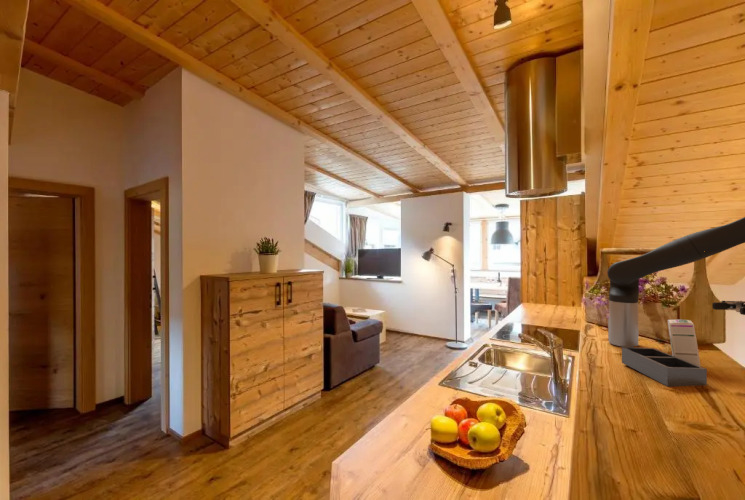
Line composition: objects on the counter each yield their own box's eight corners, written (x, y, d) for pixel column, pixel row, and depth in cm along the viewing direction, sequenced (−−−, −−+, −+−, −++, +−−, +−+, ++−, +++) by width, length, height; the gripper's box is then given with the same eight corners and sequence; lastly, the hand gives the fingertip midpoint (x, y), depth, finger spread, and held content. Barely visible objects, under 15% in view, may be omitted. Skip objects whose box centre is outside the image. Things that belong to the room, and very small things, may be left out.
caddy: (621, 362, 105) (621, 347, 105) (653, 363, 104) (653, 348, 104) (667, 386, 87) (667, 367, 87) (706, 387, 86) (706, 369, 86)
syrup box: (702, 372, 95) (695, 323, 96) (675, 369, 99) (669, 322, 100) (698, 366, 100) (692, 319, 100) (672, 364, 103) (666, 318, 104)
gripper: (760, 293, 103) (704, 293, 105) (816, 299, 89) (751, 299, 91) (760, 316, 103) (705, 316, 105) (817, 326, 89) (751, 326, 91)
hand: (726, 308), depth 98 cm, fingers open, 8 cm apart
